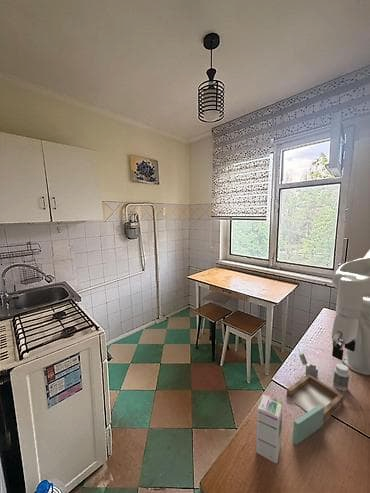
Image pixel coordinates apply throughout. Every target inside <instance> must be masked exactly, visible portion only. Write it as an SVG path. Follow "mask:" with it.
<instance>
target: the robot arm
mask: <svg viewBox="0 0 370 493" xmlns="http://www.w3.org/2000/svg"><path fill="white" fill-rule="evenodd" d="M331 282H332V285H333V287H334V288H335V289H337V294H336V306H335V313H336V314H335V317H334V321H333V325H332V330H331V331H332V332H331V339H332V343H331V344H332V354H331V356H332V357H334V358H336V359H337V360H339V361H341V362H342V364H343V365H346V366H347V367H348V368H349V369H350V370H351V371H352V372H355V373H357V374H360V375H363V376H369V375H370V249H368V251H367V252H366V253H365V255H363V257H362V258H361V257H360V258H357V259H354V260H351V261H350V260H349V261H346V262H345V263H343V264H341V265H340V266H339V267H338V269H336V271H335V273H334V274H333V276H332V281H331ZM344 348H345V350H347V351H346V354H344Z"/></svg>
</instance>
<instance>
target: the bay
mask: <svg viewBox="0 0 370 493" xmlns="http://www.w3.org/2000/svg"><path fill="white" fill-rule="evenodd" d="M286 398H287V399H289V400H290V401H291V402H293V403H294V404H295V405H297V406H298V407H300V408H301V409H302V410H303V411H304V412H305V413H307V412H308V411H310V410H312V409H313V408H315V407H316V406H318V405H319V404H321V405H323V406H324V415H323V423H324V422H326V420H328V419H329V418H330V417H331V416H332V415H333V414H334V413H335V412H336V411H337V410H338V409H339V408H340V407H341V406H342V405H344V398H345V396H344V394H342V393H340V392H339V391H336V390H335V389H334V388H332V387H330V386H329V385H327V384H325V383H323V382H322V381H321V380H319V379H318V378H317V379H316V378H314V377H313V376H311V375H309V374H308V375H306V374H305V375H304V377H302V378H301V379H299V380H298V381H296V382H295V383H294V384H292V385H291V386H289V387H288V388H286Z"/></svg>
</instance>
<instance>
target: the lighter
mask: <svg viewBox="0 0 370 493" xmlns="http://www.w3.org/2000/svg"><path fill="white" fill-rule="evenodd" d="M298 356H299V358H300V362H301V363H302V365H304V366H305V376H306V375H308V374H309V375H311V376H313V377H314V378H316V379H317V380H318V376H319V367H318V366H317V365H316V364H315V363H312V362H309V363H308V361H307V359H306V356H305V353H303V352H301V353H299V354H298Z"/></svg>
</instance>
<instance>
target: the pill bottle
mask: <svg viewBox="0 0 370 493" xmlns="http://www.w3.org/2000/svg"><path fill="white" fill-rule="evenodd" d="M349 369H350V368H348V367H347V366H346V365H345V364H344V363H336V364H335V368H334V370H333V378H332V384H333V386H334V387H335V388H336V389H338V390H339V391H345V392H346V391H348V389H349V379H350V374H349Z"/></svg>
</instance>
